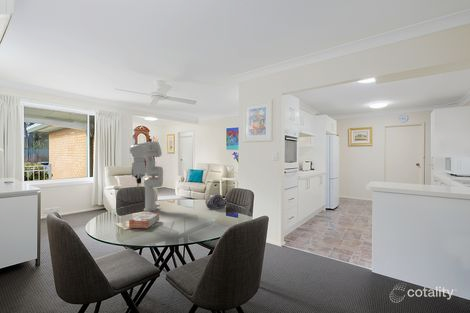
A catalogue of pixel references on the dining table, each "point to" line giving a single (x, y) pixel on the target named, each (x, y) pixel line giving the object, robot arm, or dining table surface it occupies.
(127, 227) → the board
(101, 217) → the dining table surface
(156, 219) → the cracker box
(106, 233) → the dining table surface
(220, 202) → the toy elephant
